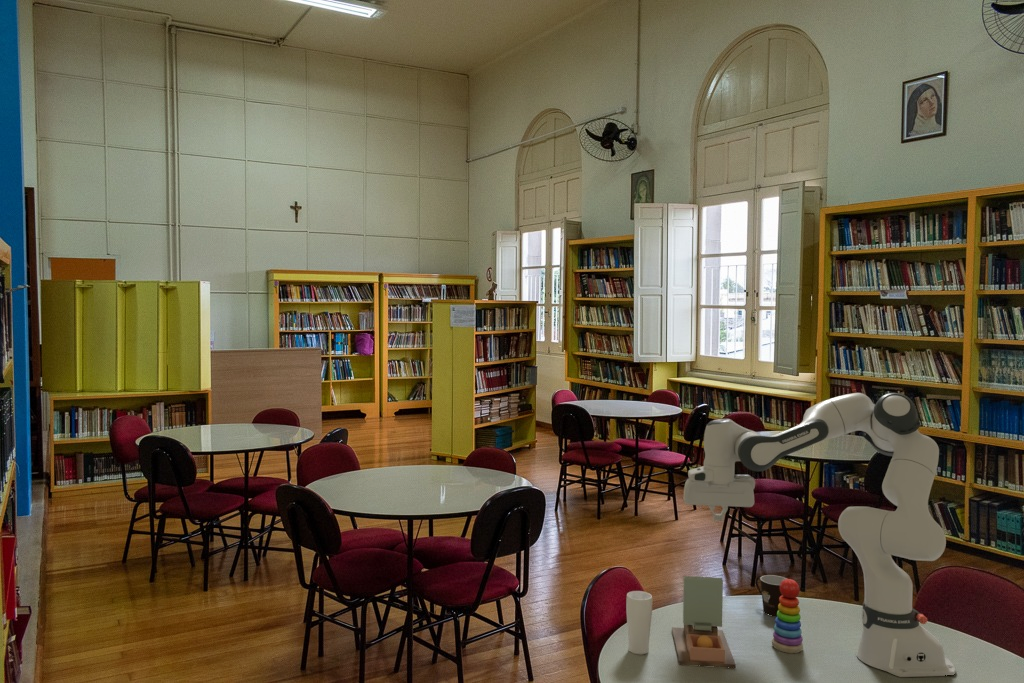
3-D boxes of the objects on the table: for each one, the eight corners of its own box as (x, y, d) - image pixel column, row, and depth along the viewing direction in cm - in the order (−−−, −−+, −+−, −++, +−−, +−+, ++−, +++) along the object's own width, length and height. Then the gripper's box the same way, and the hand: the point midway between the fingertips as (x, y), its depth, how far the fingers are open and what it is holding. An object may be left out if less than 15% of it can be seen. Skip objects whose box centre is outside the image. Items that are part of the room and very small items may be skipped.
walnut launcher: (722, 633, 207) (722, 612, 207) (735, 668, 186) (736, 644, 186) (671, 630, 209) (672, 609, 209) (679, 664, 188) (679, 640, 188)
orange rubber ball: (713, 654, 190) (711, 650, 194) (713, 638, 191) (711, 634, 194) (697, 653, 190) (695, 649, 194) (697, 637, 191) (695, 633, 195)
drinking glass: (651, 658, 192) (652, 601, 191) (625, 655, 193) (625, 598, 193) (651, 646, 198) (652, 591, 198) (626, 644, 200) (627, 589, 199)
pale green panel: (720, 628, 198) (721, 578, 198) (722, 631, 196) (722, 580, 196) (682, 625, 199) (683, 576, 199) (683, 628, 197) (684, 578, 197)
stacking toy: (766, 647, 198) (768, 579, 198) (779, 638, 204) (780, 571, 204) (795, 657, 193) (797, 586, 193) (807, 647, 199) (809, 578, 198)
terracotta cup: (719, 648, 195) (719, 635, 195) (724, 663, 187) (725, 650, 187) (686, 646, 196) (686, 633, 196) (690, 661, 188) (690, 647, 188)
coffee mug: (794, 618, 218) (794, 585, 218) (765, 618, 218) (765, 584, 218) (780, 603, 230) (781, 572, 230) (752, 603, 230) (753, 571, 230)
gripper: (753, 472, 219) (752, 519, 220) (683, 470, 222) (682, 516, 222) (757, 477, 213) (756, 524, 213) (685, 474, 215) (684, 521, 216)
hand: (718, 520), depth 218 cm, fingers closed
